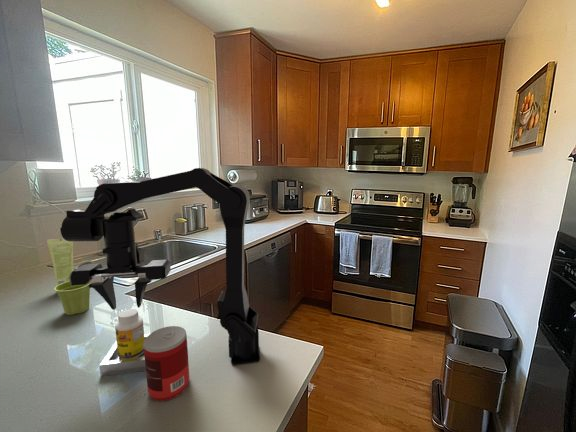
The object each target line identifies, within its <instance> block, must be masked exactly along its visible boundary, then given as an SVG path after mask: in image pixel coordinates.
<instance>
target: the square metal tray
mask: <svg viewBox="0 0 576 432" xmlns="http://www.w3.org/2000/svg"><path fill="white" fill-rule="evenodd" d="M149 334H150V333H144V337H145V338H146V337H147V336H148V335H149ZM137 372H146V368H145V358H144V353H143V354H142V355H140V356H139V357H136V358H128V359H120V358H119V356H118V348H117V340H115V342H114V343H113V345H112V346H111V348H110V349H109V351H108V352H107V354H106V355H105V356H104V358H103V359H102V361H101V363H99V374H100V377H106V376H113V375H121V374H130V373H137Z"/></svg>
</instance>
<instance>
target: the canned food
mask: <svg viewBox="0 0 576 432" xmlns="http://www.w3.org/2000/svg"><path fill="white" fill-rule="evenodd" d="M148 334H149V335H148V336H147V337H146V338H145V340H144V358H145V368H146V371H145V376H146V387H147V393H148V395H149V396H150V398H151V399H152V400H153V401H156V402H162V401H163V402H164V401H165V402H166V401H170V400H173V399H174V398H177V397H178V396H179V395H181V394H182V393H183V392H184V391H185V390H186V389H187V387H188V385H189V381H190V368H189V367H190V365H189V350H188V338H187V337H188V335H187V330H186V329H185V328H184V327H182V326H178V325H177V326H176V325H170V326H165V327H164V326H163V327H160V328H158V329H156V330H154V331H152V332H150V333H148Z"/></svg>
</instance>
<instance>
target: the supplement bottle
mask: <svg viewBox="0 0 576 432" xmlns="http://www.w3.org/2000/svg"><path fill="white" fill-rule="evenodd" d="M117 320H118V321H117V322H115V325H114V326H115V327H114V330H115V336H116V341H117V348H118V356H119V358H120V359H128V358H136V357H139V356H140V355H142V354H143V353H144V340H145V337H144V334H145V331H144V329H145V328H144V320H143V318H142V316H140V315H139V310H138V309H136V308H128V309H125V310H123V311H120V312H119V313H118V315H117Z"/></svg>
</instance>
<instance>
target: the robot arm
mask: <svg viewBox="0 0 576 432" xmlns="http://www.w3.org/2000/svg"><path fill="white" fill-rule="evenodd" d="M194 188H196V189H199V190H200V191H202V192H203V194H205V195H207V196H208V197H209V198H211V199H212V200H213V201H214V202H215V203H218V204H219V209H220V215H221V216H220V217H221V218H222V222H223V225H224V228H225V290H221V293H220V294H219V297H218V299H217V302H216V306H217V311H218V314H217V317H216V319H217V320H219V322H220V323H219V324H220V326H221V328H223V329H225V330H226V331H227V333H228V357H229V358H230V359H231V360H230V363H231V365H232V366H233V365H241V364H249V363H257V362H260V361H261V354H260V337H259V335H260V334H259V333H260V332H259V327H258V325H257V324H258V318H259V313H258V312H257V311H256V310H255V309H254V308H253V307H251V306H250V302H249V297H248V293H247V290H246V287H245V225H246V220H247V216H248V210H249V207H250V200H251V196H250V192H249V191H248V190H247V189H246V188H245V187H244V186H242V185H239V184H237V185H235V184H234V185H233V184H231V183H230V182H228V181H226V180H225V179H224V178H221V177H219V176H218V175H215V174H214V173H212V172H211V171H210V170H208V169H207V168H204V167H203V168H202V167H195V168H193V169H191V170H188V171H183V172H179V173H173V174H169V175H165V176H160V177H156V178H151V179H146V180H141V181H120V182H105V183H101V184H99V185H98V186H96V187H95V190H94V193H93V198H92V200H91V201H90V203H89V205H87V207H86V209H85V210H82V209H70V210H66V211H65V214H66V216H65V218H64V219H63V220H62V222H61V227H60V228H59V229H60V231H59V232H60V234H61V237H62V239H63V238H64V239H65V240H66V241H73V242H99V241H100V240H101V239H103V240H104V248H102V254H103V255H105V259H106V267H103V265H102V264H101V263H88V264H86V263H85V264H82V265H80V266H79V267H77V268H75V269H73V270H74V271H72V272H71V274H70V276H69V280H70V285H85V284H87V283H88V282H89V281H90V284H89V285H88V287H89V288H90V289H93V290H94V291H95V292H97V294H98V295H100V297H102V298H103V300H104V301H105V302H106V303H107V305H108V307H110V308H111V309H112V310H116V308H117V299H116V294H115V293H116V292H115V288H114V280H115V277H120V276H121V277H125V276H137V277H138V279H136V281H135V282H134V290H135V303H136V306H137V308H141V306H142V302H143V299H144V296H145V292H146V288H147V287H148V284H150V283H152V281H153V280H154V281H155V280H164V279H167V277H168V275H169V274H170V272H171V270H172V269H171V262H170V260H169V259H154V260H151V261H150V262H149V263H148V264H147V265H145V264H144V265H140V264H141V263H143V262H145V248H142V247H139V246H138V241H136V237H135V227H134V226H135V225H134V222H135V221H140V220H141V219H143V218H144V215H143V214H142V213H140V212H139V211H137V210H136V209H135V208H130V209H128V210H127V211H126V212H125V211H121V212H120V211H119V210H123V209H127V208H129V207H132V206H134V205H135V206H136V205H137V204H139V203H142V202H143V201H146V200H148V199H150V198H153V197H157V196H158V197H159V196H162V195H163V196H164V195H167V194H173V193H177V192H181V191H186V190H189V189H194ZM117 211H119V212H117ZM107 214H111V215H110V216H105V215H107Z"/></svg>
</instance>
